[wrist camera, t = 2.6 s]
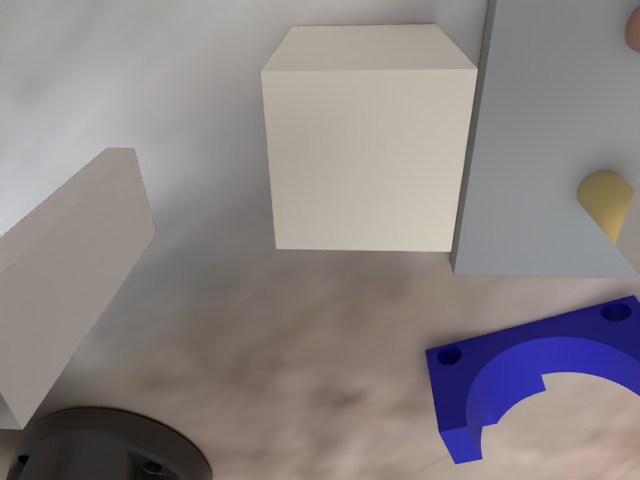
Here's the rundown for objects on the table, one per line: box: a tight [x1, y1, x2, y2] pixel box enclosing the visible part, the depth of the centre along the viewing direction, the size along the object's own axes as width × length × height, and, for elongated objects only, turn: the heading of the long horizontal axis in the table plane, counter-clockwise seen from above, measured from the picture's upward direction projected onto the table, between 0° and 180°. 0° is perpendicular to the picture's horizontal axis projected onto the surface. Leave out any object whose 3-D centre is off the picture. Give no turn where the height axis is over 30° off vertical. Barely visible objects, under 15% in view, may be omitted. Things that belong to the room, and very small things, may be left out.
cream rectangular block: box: [260, 24, 478, 252], centre depth 18 cm, size 6×6×8 cm
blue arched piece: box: [426, 295, 640, 464], centre depth 27 cm, size 12×4×6 cm, turn 115°
